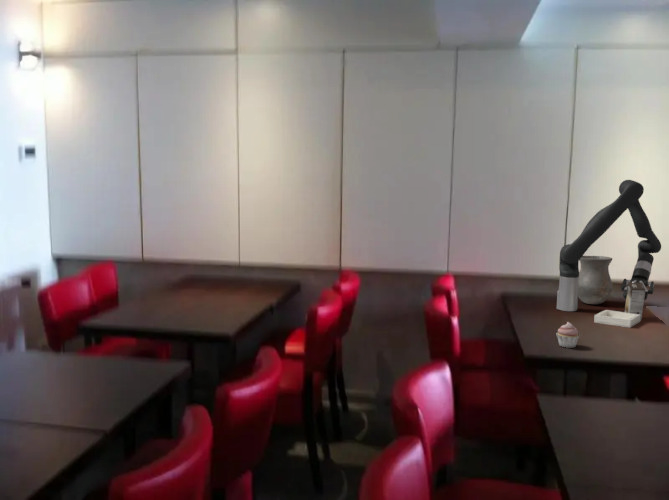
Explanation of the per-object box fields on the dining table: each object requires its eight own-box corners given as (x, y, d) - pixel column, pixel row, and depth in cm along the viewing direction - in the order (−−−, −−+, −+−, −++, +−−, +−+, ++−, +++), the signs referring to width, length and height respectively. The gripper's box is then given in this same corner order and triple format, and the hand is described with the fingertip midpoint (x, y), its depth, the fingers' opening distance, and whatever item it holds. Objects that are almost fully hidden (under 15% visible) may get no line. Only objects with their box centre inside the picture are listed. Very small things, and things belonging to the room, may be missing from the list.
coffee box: (623, 312, 325) (627, 281, 320) (637, 313, 324) (641, 282, 318) (627, 320, 316) (631, 288, 311) (642, 320, 315) (646, 289, 310)
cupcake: (560, 341, 275) (561, 318, 274) (582, 345, 269) (584, 321, 268) (551, 346, 268) (552, 322, 266) (574, 350, 262) (575, 325, 261)
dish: (594, 322, 310) (594, 315, 310) (605, 316, 323) (605, 309, 322) (630, 327, 300) (630, 320, 300) (640, 321, 312) (640, 314, 312)
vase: (565, 301, 360) (567, 255, 357) (591, 298, 368) (593, 254, 365) (593, 308, 342) (595, 260, 339) (620, 305, 350) (623, 258, 347)
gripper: (625, 266, 328) (617, 292, 320) (656, 268, 319) (649, 295, 312) (627, 275, 333) (620, 301, 325) (658, 278, 324) (651, 305, 316)
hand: (634, 298), depth 318 cm, fingers closed on coffee box, 8 cm apart
